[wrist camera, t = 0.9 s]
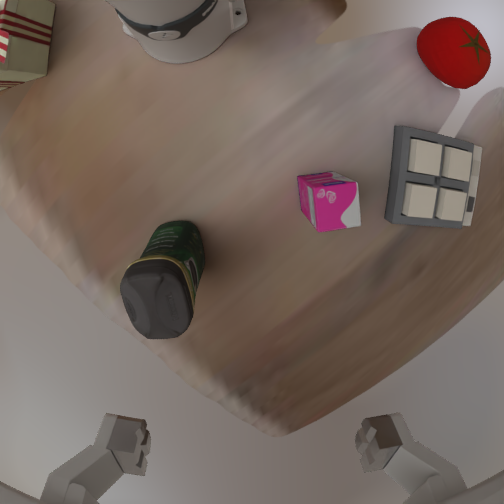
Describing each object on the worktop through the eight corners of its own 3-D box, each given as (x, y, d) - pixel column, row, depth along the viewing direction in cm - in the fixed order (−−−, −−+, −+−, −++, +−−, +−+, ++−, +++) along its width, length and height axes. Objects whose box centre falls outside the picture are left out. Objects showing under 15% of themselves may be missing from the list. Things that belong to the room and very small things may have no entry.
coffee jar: (149, 223, 48) (105, 275, 30) (198, 215, 47) (175, 266, 30) (163, 278, 51) (133, 348, 34) (209, 272, 51) (197, 343, 34)
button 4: (409, 138, 42) (417, 139, 40) (434, 143, 42) (442, 145, 40) (406, 169, 44) (413, 171, 41) (430, 173, 44) (438, 176, 42)
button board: (394, 125, 43) (403, 125, 40) (480, 147, 44) (490, 149, 41) (384, 218, 49) (392, 223, 46) (468, 225, 50) (477, 230, 47)
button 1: (438, 186, 45) (446, 189, 42) (459, 190, 45) (467, 193, 43) (433, 215, 47) (441, 219, 44) (454, 217, 47) (462, 221, 45)
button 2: (443, 146, 42) (451, 147, 40) (463, 151, 42) (472, 152, 40) (439, 175, 44) (448, 177, 42) (460, 179, 44) (468, 181, 42)
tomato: (407, 15, 35) (447, -6, 24) (458, 40, 36) (503, 29, 25) (403, 77, 40) (448, 68, 28) (456, 99, 41) (503, 98, 29)
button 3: (405, 181, 44) (412, 184, 42) (429, 185, 45) (437, 188, 42) (400, 212, 46) (407, 216, 44) (424, 214, 46) (432, 218, 44)
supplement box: (332, 169, 46) (360, 181, 35) (336, 206, 48) (362, 228, 37) (295, 174, 46) (313, 187, 35) (300, 211, 48) (318, 235, 37)
